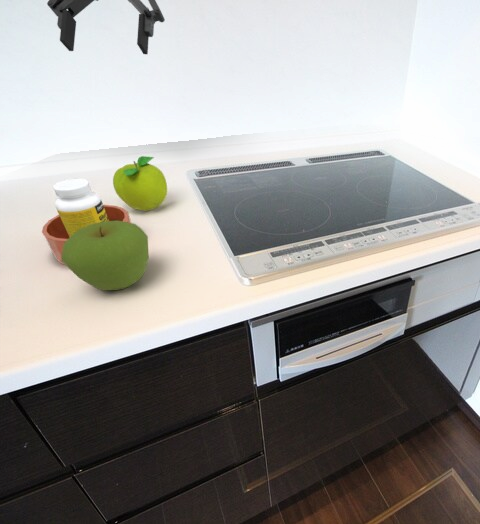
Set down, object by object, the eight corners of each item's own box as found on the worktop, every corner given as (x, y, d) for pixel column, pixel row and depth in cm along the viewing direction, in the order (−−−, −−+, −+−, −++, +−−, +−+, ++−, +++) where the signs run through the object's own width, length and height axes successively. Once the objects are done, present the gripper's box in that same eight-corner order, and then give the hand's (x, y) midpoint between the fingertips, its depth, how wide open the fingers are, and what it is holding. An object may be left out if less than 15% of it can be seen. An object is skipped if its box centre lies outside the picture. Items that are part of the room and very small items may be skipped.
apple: (140, 254, 62) (122, 201, 56) (172, 280, 57) (155, 225, 51) (68, 283, 55) (39, 226, 49) (97, 316, 50) (68, 257, 44)
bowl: (38, 254, 61) (24, 228, 58) (105, 223, 70) (96, 199, 67) (88, 275, 57) (75, 248, 54) (152, 239, 66) (144, 214, 63)
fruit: (180, 200, 79) (169, 155, 73) (155, 220, 72) (140, 172, 66) (141, 195, 80) (127, 150, 74) (112, 215, 73) (94, 166, 67)
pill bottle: (118, 246, 63) (95, 187, 56) (76, 256, 60) (46, 195, 53) (113, 230, 67) (91, 173, 60) (73, 239, 64) (46, 180, 57)
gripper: (183, -25, 78) (179, 64, 74) (58, -33, 75) (48, 58, 72) (170, -61, 70) (165, 35, 67) (30, -72, 68) (18, 28, 64)
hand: (104, 47), depth 69 cm, fingers open, 13 cm apart
